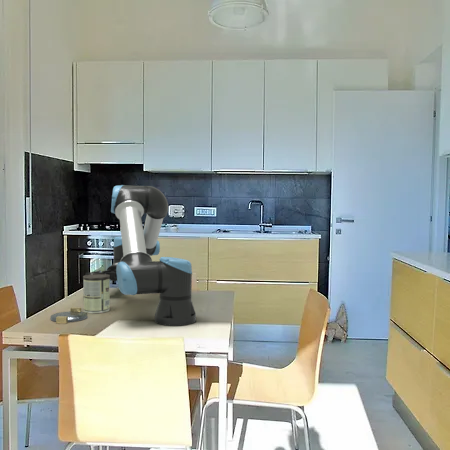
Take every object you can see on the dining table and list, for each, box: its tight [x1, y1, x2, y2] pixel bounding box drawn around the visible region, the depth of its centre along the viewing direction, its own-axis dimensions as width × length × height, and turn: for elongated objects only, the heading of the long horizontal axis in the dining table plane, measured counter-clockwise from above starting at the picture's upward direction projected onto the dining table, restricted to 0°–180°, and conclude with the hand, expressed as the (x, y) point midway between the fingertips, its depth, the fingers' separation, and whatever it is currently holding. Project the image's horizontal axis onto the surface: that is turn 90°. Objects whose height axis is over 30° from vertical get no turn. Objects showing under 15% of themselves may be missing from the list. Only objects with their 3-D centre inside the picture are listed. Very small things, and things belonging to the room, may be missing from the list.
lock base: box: [50, 306, 88, 325], centre depth 174 cm, size 16×13×2 cm
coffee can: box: [82, 274, 111, 314], centre depth 186 cm, size 10×10×14 cm
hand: (103, 279), depth 196 cm, fingers open, 13 cm apart
